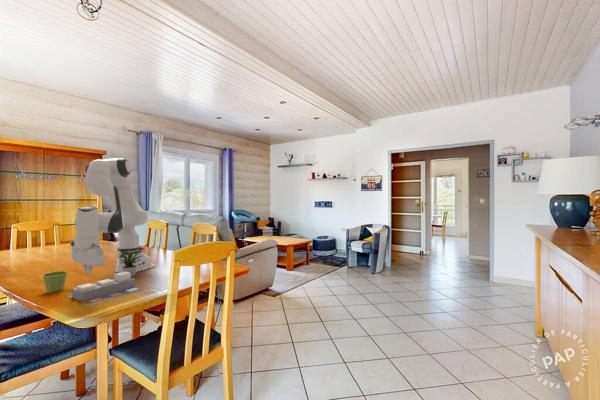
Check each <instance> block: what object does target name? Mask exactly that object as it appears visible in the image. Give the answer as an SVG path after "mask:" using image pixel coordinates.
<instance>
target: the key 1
mask: <svg viewBox="0 0 600 400" xmlns="http://www.w3.org/2000/svg"><path fill="white" fill-rule="evenodd" d="M93 284H94V283H89V282H88V283H83V284H80V285H76V288H77V290H80V291H85V290H89V289H93V288H95V285H93Z"/></svg>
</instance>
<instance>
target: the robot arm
mask: <svg viewBox="0 0 600 400" xmlns="http://www.w3.org/2000/svg"><path fill="white" fill-rule="evenodd" d="M84 168H85V169H84V170H85V171H84V172H85V177H84V187H85V189H86V190H87V191H89V192H90V193H91V194H93V195H95V196H99V197H102V198H105V199H107V200H109V201H110V205H111V211H110V212H99V209H98V207H96V206H89V205H87V206H81V207H78V208H77V210H76V214H75V220H74V229H75V231H76V233H75V236H74V238H75V239H73V240H71V241H70V242H69V243H70V247H71V250H70V251H71V260H72V261H73V262H75V263H80V264H82V267H83V272H84V274H88V275H92V274H93V268H94V267H95V268H96V267H100V266H101V267H102V266H104V265H105V261H106V260H105V251H104V249H103V247H101V233H110V234H111V233H113V234H117V236H118V239H117V241H118V247H117V254H116V255H117V261H116V267H115V270H114V272H115V273H120V272H123V269H122V267H123V266H126V265H125V263H120V262H123V261H120V259H122V260H124V259H123V258H122V257H123V256H122V257H121V255H118V254H122V252H123V254H125V256H126V255H127V256H126V257H128V251H130V250H131V253H133V252H134V251H135V250H136V251H135V252H134V254H133V256H132V258H133V257H134V255H135V254H136V253H138V252H139V251H140V252H139V253H140V255H139V253H138V254H137V255H136V256H135V258H136V257H138V256H142V257H139V258H137V259H141V261H138V260H137V259H136V261H137V262H136V264H135V263H134V264H133V265H136V266H137V267H136V272H135V273H137V272H138V271H139V272H141V270H142V271H145V270H149V269H152V268H155V267H156V264H155V263H152V259H151V257H150V256H149V255H147V254H145V253H144V252H142V251H145V250H146V248H145V247H144V246H140V234H139V232H137V229H136V228H135V227H139V226H143V225H145V224H146V223H147V221H148V218H149V215H148V213H147V211H146V210H144V209H143V208H142V207H141V206H140V204H139V202H138V201H137V199H136V197H135V194H134V191H133V188H132V185H131V182H130V180H129V175H130V174H131V172H132V167H131V164H130V162H129V160H127V159H126V158H122V157H119V158H108V159H107V158H106V159H94V160H93V161H91V162H89V163H87V164H86V165H85V167H84ZM123 254H122V255H123ZM127 260H128V259H127ZM131 260H132V259H131ZM124 261H125V260H124ZM120 264H121V265H120ZM148 268H149V269H148Z"/></svg>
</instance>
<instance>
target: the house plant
mask: <svg viewBox="0 0 600 400" xmlns="http://www.w3.org/2000/svg"><path fill="white" fill-rule="evenodd" d="M135 251H136V250H135ZM135 251H134V252H135ZM134 252H133V253H131V250H130V251H128V257H126V256H127V255H126V256H125V254H123V252H122V254H123V255H122V254H118V255H121V257H122V256H123V257H122V258H123V259H124V260H125V261H124V260H122V259H120V261H123V262H120V263H125V265H126V266H123V267H122V269H123V272H129V273H131V277H134V276H135V275H136V273H137V272H136V267H137V266H136V265H133V264H134V263H135V264H136V262H137V261H136V259H137V258H139V257H142V256H138V257H136V258H135V256H136V255H137V254H138V253H139V252H140V251H139V252H138V253H136V254H135V255H134V257H133V258H132V256H133V254H134ZM118 255H117V256H118ZM139 255H140V253H139ZM127 259H128V260H127ZM131 259H132V260H131ZM137 260H138V261H141V259H137ZM120 265H121V264H120Z"/></svg>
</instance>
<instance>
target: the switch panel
mask: <svg viewBox="0 0 600 400" xmlns="http://www.w3.org/2000/svg"><path fill="white" fill-rule="evenodd" d="M110 280H114V283H113V284H109V285H105V286H100V285H97V282H94V283H92V284H93V285H95V288H93V289H89V290H85V291H80V290H77V287H73V288H71V295H67V297H68V298H71V299H73V300H76V301H79V302H82V303H85V304H87V305H89V306H93V305H96V304H99V303H103V302H106V301H110V300H114V299H117V298H120V297H123V296H127V295H131V294H135V293H137V292H140V291H143V290H144V291H145V289H143V288H141V287H136V278H132V277H131V279H129V280H125V281H121V282H119V281H116V280H115V278H111V279H110Z"/></svg>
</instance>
